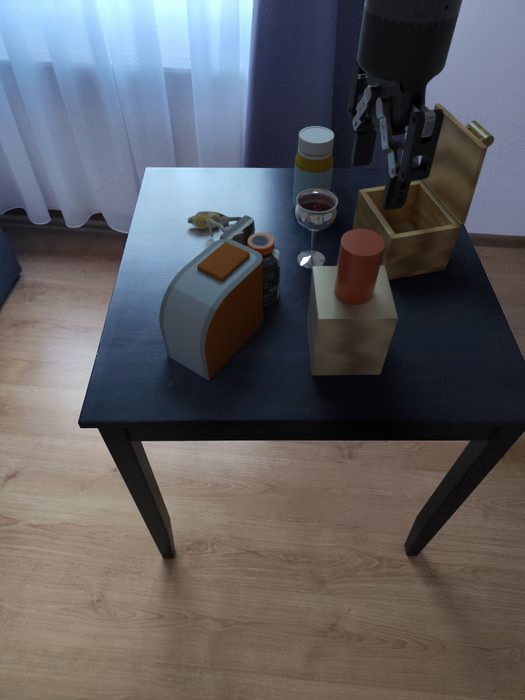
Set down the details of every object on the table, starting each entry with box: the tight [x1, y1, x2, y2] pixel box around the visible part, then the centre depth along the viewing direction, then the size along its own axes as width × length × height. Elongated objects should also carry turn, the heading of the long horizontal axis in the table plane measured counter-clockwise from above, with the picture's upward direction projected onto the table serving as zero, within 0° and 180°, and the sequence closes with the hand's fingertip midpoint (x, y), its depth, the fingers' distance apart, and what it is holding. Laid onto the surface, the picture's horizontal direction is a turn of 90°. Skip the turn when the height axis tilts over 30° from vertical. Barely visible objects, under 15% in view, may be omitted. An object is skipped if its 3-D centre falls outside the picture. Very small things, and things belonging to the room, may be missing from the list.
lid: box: [421, 102, 495, 226], centre depth 75 cm, size 13×14×5 cm
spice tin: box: [334, 229, 385, 305], centre depth 59 cm, size 5×5×8 cm
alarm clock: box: [158, 238, 264, 381], centre depth 68 cm, size 15×8×14 cm, turn 145°
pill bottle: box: [247, 232, 281, 307], centre depth 75 cm, size 6×6×11 cm
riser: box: [306, 265, 399, 376], centre depth 67 cm, size 10×10×12 cm
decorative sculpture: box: [187, 210, 256, 246], centre depth 85 cm, size 16×10×7 cm, turn 31°
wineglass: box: [294, 189, 339, 269], centre depth 80 cm, size 7×7×12 cm
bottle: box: [292, 125, 335, 211], centre depth 89 cm, size 7×7×15 cm
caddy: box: [351, 179, 462, 281], centre depth 83 cm, size 12×14×9 cm
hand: (375, 184), depth 51 cm, fingers open, 8 cm apart
